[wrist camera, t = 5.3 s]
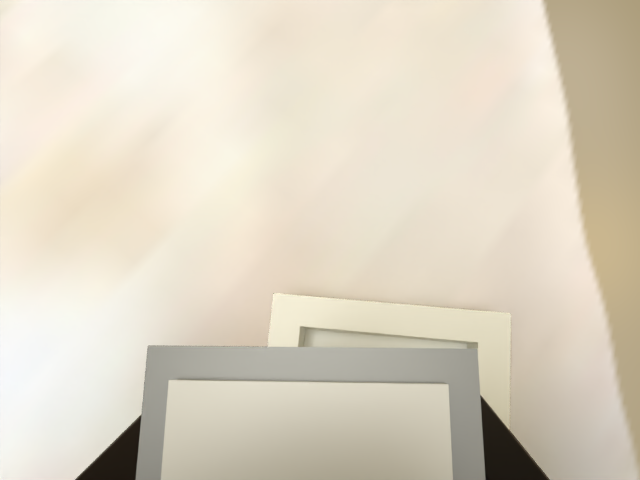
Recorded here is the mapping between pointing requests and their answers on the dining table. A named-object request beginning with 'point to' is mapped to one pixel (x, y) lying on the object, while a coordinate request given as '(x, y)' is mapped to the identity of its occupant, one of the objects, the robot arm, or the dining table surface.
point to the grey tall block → (310, 414)
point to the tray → (400, 333)
